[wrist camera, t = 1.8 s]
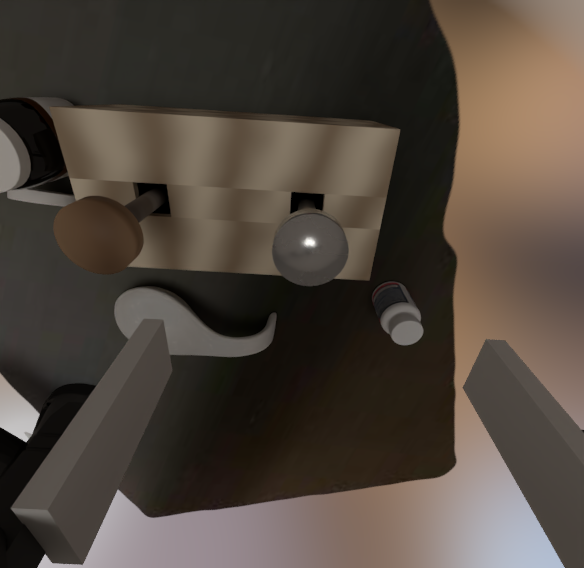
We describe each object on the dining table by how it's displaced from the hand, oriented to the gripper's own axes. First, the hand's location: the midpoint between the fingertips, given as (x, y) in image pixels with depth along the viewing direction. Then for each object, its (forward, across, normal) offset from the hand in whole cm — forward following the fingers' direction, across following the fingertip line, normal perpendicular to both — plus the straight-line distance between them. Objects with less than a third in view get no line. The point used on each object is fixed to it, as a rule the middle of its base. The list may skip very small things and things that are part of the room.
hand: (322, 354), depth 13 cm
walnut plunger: (+23, -14, 0) cm, 27 cm away
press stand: (+31, -7, 0) cm, 32 cm away
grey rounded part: (+23, 0, 0) cm, 23 cm away
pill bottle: (+31, +14, -16) cm, 37 cm away
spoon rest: (+31, -15, -21) cm, 40 cm away
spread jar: (+31, -29, +1) cm, 43 cm away
